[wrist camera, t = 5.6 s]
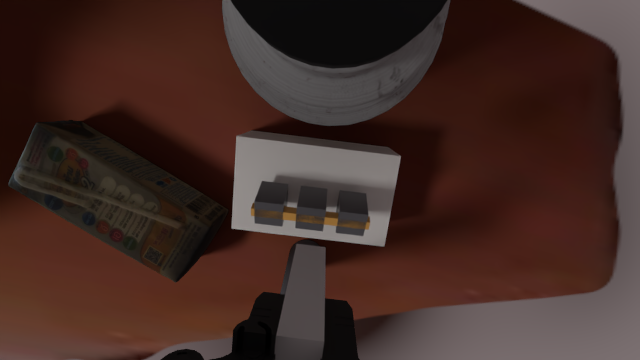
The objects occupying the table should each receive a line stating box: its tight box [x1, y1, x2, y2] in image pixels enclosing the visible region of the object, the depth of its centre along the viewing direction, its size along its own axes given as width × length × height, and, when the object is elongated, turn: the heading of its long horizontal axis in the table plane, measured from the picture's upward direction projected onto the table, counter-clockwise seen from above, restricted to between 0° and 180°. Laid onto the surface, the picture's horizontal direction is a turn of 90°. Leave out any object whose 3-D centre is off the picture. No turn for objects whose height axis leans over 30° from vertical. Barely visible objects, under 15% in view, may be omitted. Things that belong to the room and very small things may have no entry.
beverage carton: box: [9, 120, 228, 282], centre depth 33 cm, size 8×19×7 cm, turn 57°
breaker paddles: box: [251, 181, 370, 236], centre depth 28 cm, size 10×2×3 cm, turn 83°
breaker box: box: [231, 130, 401, 247], centre depth 33 cm, size 15×9×6 cm, turn 83°
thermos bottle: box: [222, 0, 450, 126], centre depth 19 cm, size 8×8×28 cm
